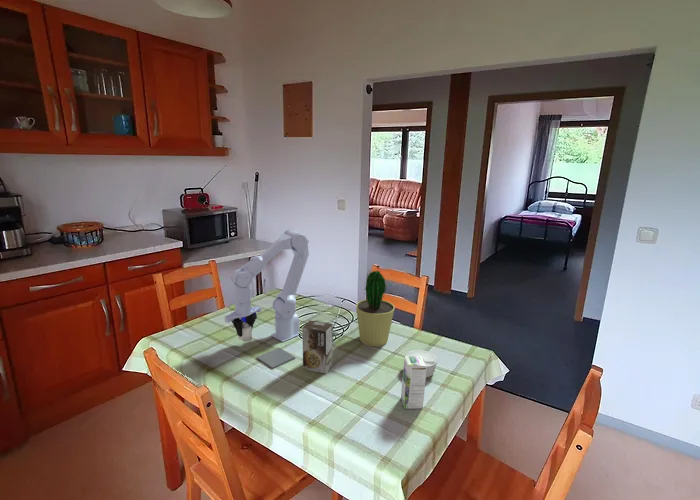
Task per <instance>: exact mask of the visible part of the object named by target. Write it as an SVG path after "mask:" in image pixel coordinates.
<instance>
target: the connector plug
mask: <svg viewBox="0 0 700 500" xmlns="http://www.w3.org/2000/svg"><path fill="white" fill-rule="evenodd" d="M237 338H238V339H240V340H241V341H242V342H251V341H252V340H253V328H252V329H251V326H250V325H248V324H247V323H246V322H243V324H242V336H241V337H240V336H238V335H237Z"/></svg>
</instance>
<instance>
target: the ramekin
mask: <svg viewBox="0 0 700 500" xmlns="http://www.w3.org/2000/svg"><path fill="white" fill-rule="evenodd" d="M405 356H422V357H423V359H424V361H425V364H426V366H427V370H426V379H427V378H430V377H431V376H433V374H434V372H435V371H436V366H437V364H438V358H437V356H436V355H435V354H434V353H432V352H430V351H427V350H423V349H412V350H409V351H408V352H406V353H405ZM405 356H404V357H405Z"/></svg>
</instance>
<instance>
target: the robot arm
mask: <svg viewBox="0 0 700 500" xmlns="http://www.w3.org/2000/svg"><path fill="white" fill-rule="evenodd" d="M283 250H291V251H292V253H293V254H294V255H293V258H292V260H291V264H290V267H289V271H288V273H287V276H286V279H285V282H284V284H283V287H282V290H281V291H280V292H279V293H278V294H277V296H276V298H274V300H273V301H272V308H273V310H274V311H275V314H274V326H275V329H274V330H275V331H274V333H271V334H270V336H271V337H273V338H274V339H277V340H278V341H280V342H286V341H288V340H290V339H293V338H296V337H298V336H300V335H299V334H298V332H299V333H300V318H299V315H298V314H297V313H296V310H297V309H296V306H297V305H296V304H297V300H296V293H297V290H298V287H299V284H300V282H301V279H302V276H303V273H304V269H305V267H306V264H307V261H308V258H309V255H310V254H309V253H310V252H309V239H308V238H307V235H306V234H304V233H302V232H299V231H297V230H295V229H294V228H293V229H292V228H290V229H288V228H287V230H285V231H284V233H281V234H280V235H279V237H278V238H277V239H276V240H275V241H274V242H273V243H272V244H271V245H270V246H269V247H268V248H267V249H266V250H265V251H264V252H263V253H261V254H260V255H255V256H254V257H253V256H251V257H250V259H249V260H248V262H247V263H246V264H244V265H241V267H240V268H239V269H236V270H234V272H232V275H231V276H230V280H231V281H232V282H233V284H234V285H233V286H234V287H233V288H234V290H233V292H234V304H235V305H234V308H235V311H233V312H232V313H230V314H227V315H226V316H224V322H226V323H227V324H228V323H232V324H233V326H234V328H235V331H236V335H237V337H238V336H240V337H241V336H242V324H243V321H241V319H240V318H241V317H245V318H246V323H247V324H248V325H250V326H251V329H252V330H253V328H254V324H255V322H256V320H257V318H258V315H257V313H261V312H262V307H261V306H259V305H256V306H252V304H251V301H252V300H251V297H252V296H251V286H250V285H251V284H252V282H253V279H254V278H255V277H256V276H257V275H259V274H260V273H261V272H262V271H263V270H265V268H267V262H269V261H270V260H271V259H273V258H274V257H276V256H277V255H278V254H279V253H280V252H282V251H283ZM255 313H256V314H255Z"/></svg>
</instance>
